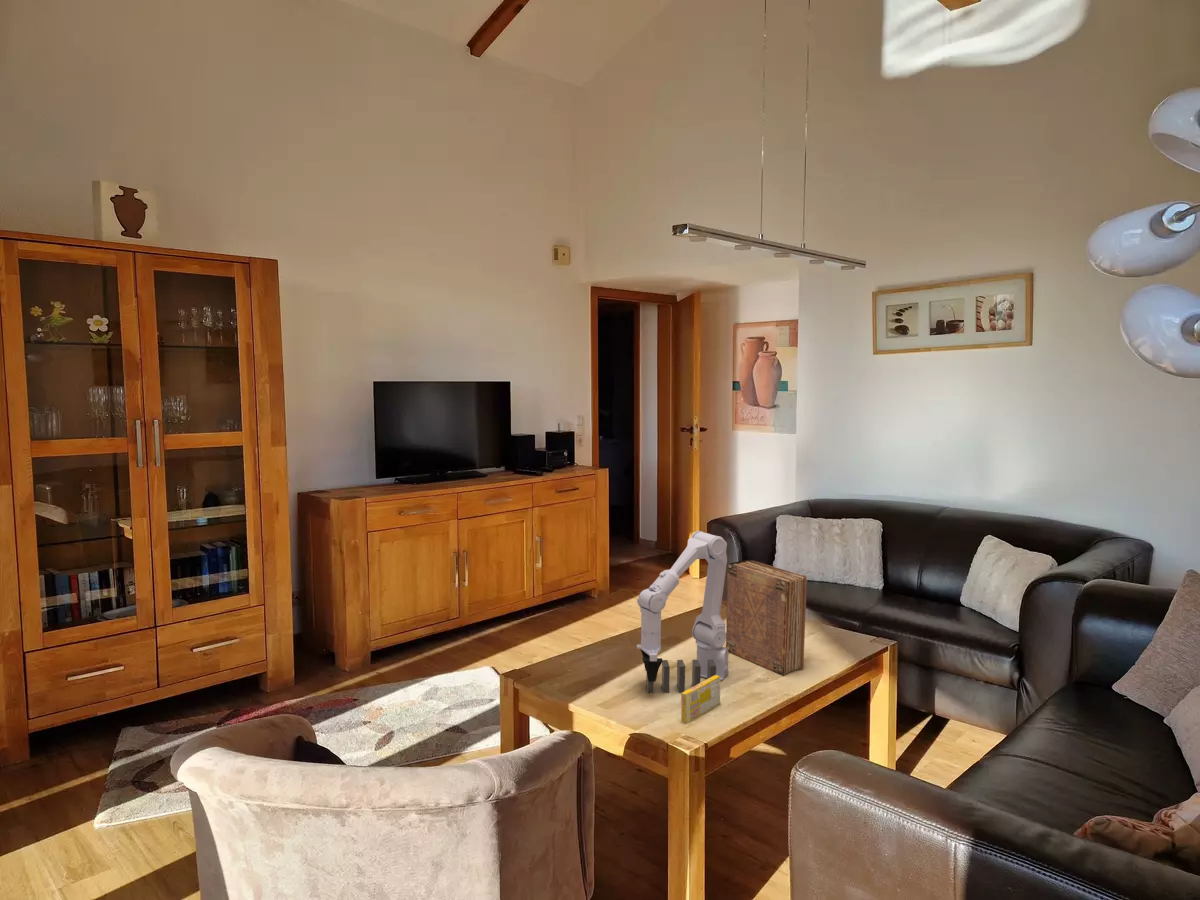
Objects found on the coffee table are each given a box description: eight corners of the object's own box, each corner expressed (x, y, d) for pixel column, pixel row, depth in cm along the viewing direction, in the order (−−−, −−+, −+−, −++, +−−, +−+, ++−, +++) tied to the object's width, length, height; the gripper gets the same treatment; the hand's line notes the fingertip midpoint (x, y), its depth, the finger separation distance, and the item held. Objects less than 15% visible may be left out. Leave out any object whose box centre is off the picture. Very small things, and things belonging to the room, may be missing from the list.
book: (804, 670, 245) (807, 576, 242) (783, 676, 240) (787, 581, 237) (745, 645, 266) (747, 559, 263) (725, 651, 261) (727, 562, 257)
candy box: (714, 702, 222) (715, 674, 221) (720, 704, 221) (721, 676, 220) (680, 721, 210) (680, 691, 209) (686, 724, 209) (687, 694, 208)
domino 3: (682, 685, 233) (682, 659, 232) (684, 693, 228) (685, 666, 227) (676, 685, 233) (677, 659, 232) (679, 693, 228) (679, 666, 227)
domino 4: (697, 685, 233) (697, 659, 232) (700, 692, 228) (700, 666, 227) (691, 685, 233) (692, 659, 232) (694, 692, 228) (695, 666, 227)
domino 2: (667, 686, 233) (667, 660, 232) (669, 693, 228) (669, 666, 227) (661, 686, 233) (662, 660, 232) (663, 693, 228) (664, 666, 227)
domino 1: (651, 686, 232) (652, 660, 232) (653, 693, 227) (654, 666, 227) (646, 686, 232) (646, 660, 231) (648, 693, 227) (648, 666, 226)
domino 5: (712, 685, 233) (712, 659, 232) (715, 692, 228) (716, 666, 227) (706, 685, 233) (707, 659, 232) (710, 692, 228) (710, 666, 227)
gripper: (635, 622, 235) (634, 666, 236) (639, 639, 220) (639, 686, 222) (658, 622, 235) (658, 666, 237) (664, 639, 221) (663, 686, 222)
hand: (650, 675), depth 229 cm, fingers open, 7 cm apart
